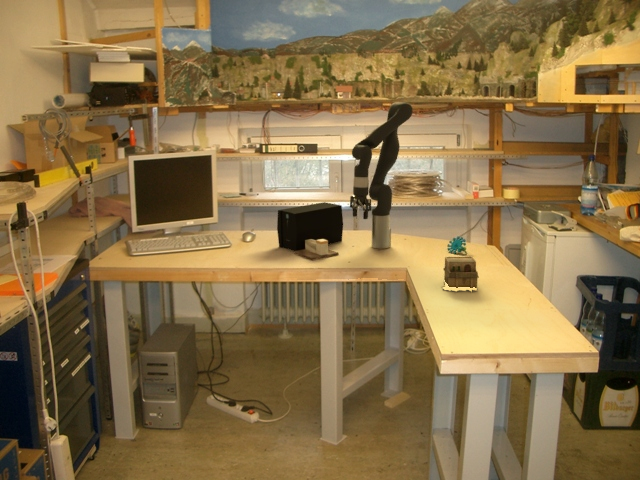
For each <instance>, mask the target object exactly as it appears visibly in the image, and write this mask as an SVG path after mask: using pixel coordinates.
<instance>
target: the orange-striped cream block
mask: <svg viewBox="0 0 640 480" xmlns="http://www.w3.org/2000/svg"><path fill="white" fill-rule="evenodd" d="M328 249H329V245H328V240H325V239H319V240H316V254H319V255H326V254H328Z"/></svg>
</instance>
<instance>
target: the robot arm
mask: <svg viewBox="0 0 640 480" xmlns="http://www.w3.org/2000/svg"><path fill="white" fill-rule="evenodd" d="M387 112H388V113H387V116H386V117H387V120H386V121H385V122H383V123H381V124H380V125H379V126H377V127H376V128H375V129H373V130H372V131H371V132H370V133H369V134H368V135H367V137H365V138H364V139H362V140H361V141H359V142H358V143H356V144H355V145H354V146H353V148H352V150H351V155H352V157H353V158H354V159H355V160H359V162H358V164H356V165H354V170H353V187H352V188H353V189H352V193H353V195H351V196H350V198H349V201H350V202H349V208H351V210H352V217H353V218H354V217H356V218H357V217H358V207H361V209H362V211H363V216H362V217H363V220H367V219H369V218H368V217H369V212H371V248H372V249H378V250H379V249H380V250H381V249H388V248H390V247H391V246H392V228H390V227H391V226H390V225H391V224H390V222H391V221H390V217H391V214H390V212H391V210H392V201H393V191H392V187H391V186H390V185H389V184H387V183H385V181H386V177H387V174H388V173H389V172H390V170H391V169H392V167H394V165H395V163H396V162H397V160H398V156H399V152H400V140H399V137H398V135H399V134H398V130H399V127H401V125H403V124H404V123H406V122H407V121H409V119H410V118H411V117H412V115H413V113H414V112H413V106H412V105H411V104H410V103H409V102H401V101H400V102H398V101H397V102H393V103H392V104H390V106H389V109H388V111H387ZM381 143H382V144H381ZM380 144H381V147H380V152H379V155H378V160H377V164H376V167H375V171H374V173H373V176H372V180H371V182H370V181H369V167H370V165H371V161H372V157H373V151H372V149H376V148H377V147H379V146H380ZM369 182H370V186H369ZM368 197H369V198H368ZM372 201H376V202H377V203H376V206H375V207H373V208H372Z"/></svg>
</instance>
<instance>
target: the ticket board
mask: <svg viewBox="0 0 640 480" xmlns="http://www.w3.org/2000/svg"><path fill="white" fill-rule="evenodd" d="M293 252H294V254H295V255H297V256H299V257H303V258H305V259H308V260H310V261H314V260H315V261H316V260H320V259H326V258H330V257H331V258H332V257H336V256H339V252H337V251H335V250H333V249H329V248H328V254H326V255H319V254H316V240H313V239H310V240H305V249H304V250H298V251H293Z"/></svg>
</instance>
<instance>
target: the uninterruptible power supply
mask: <svg viewBox="0 0 640 480" xmlns="http://www.w3.org/2000/svg"><path fill="white" fill-rule="evenodd" d="M276 224H277V226H276V230H277V238H278V239H277V240H278V248H280V249H286V250H289V251H292V252H294V251H298V250H304V249H305V240H310V239H313V240H319V239H325V240H328V246H330V245H333V244H338V243H342V242H343V233H344V232H343V229H344V217H343V207H342V204H335V203H329V202H325V201H324V202H318V203H312V204H306V205H300V206H294V207H289V208H288V207H287V208H283V209H278V210H277V222H276Z"/></svg>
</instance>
